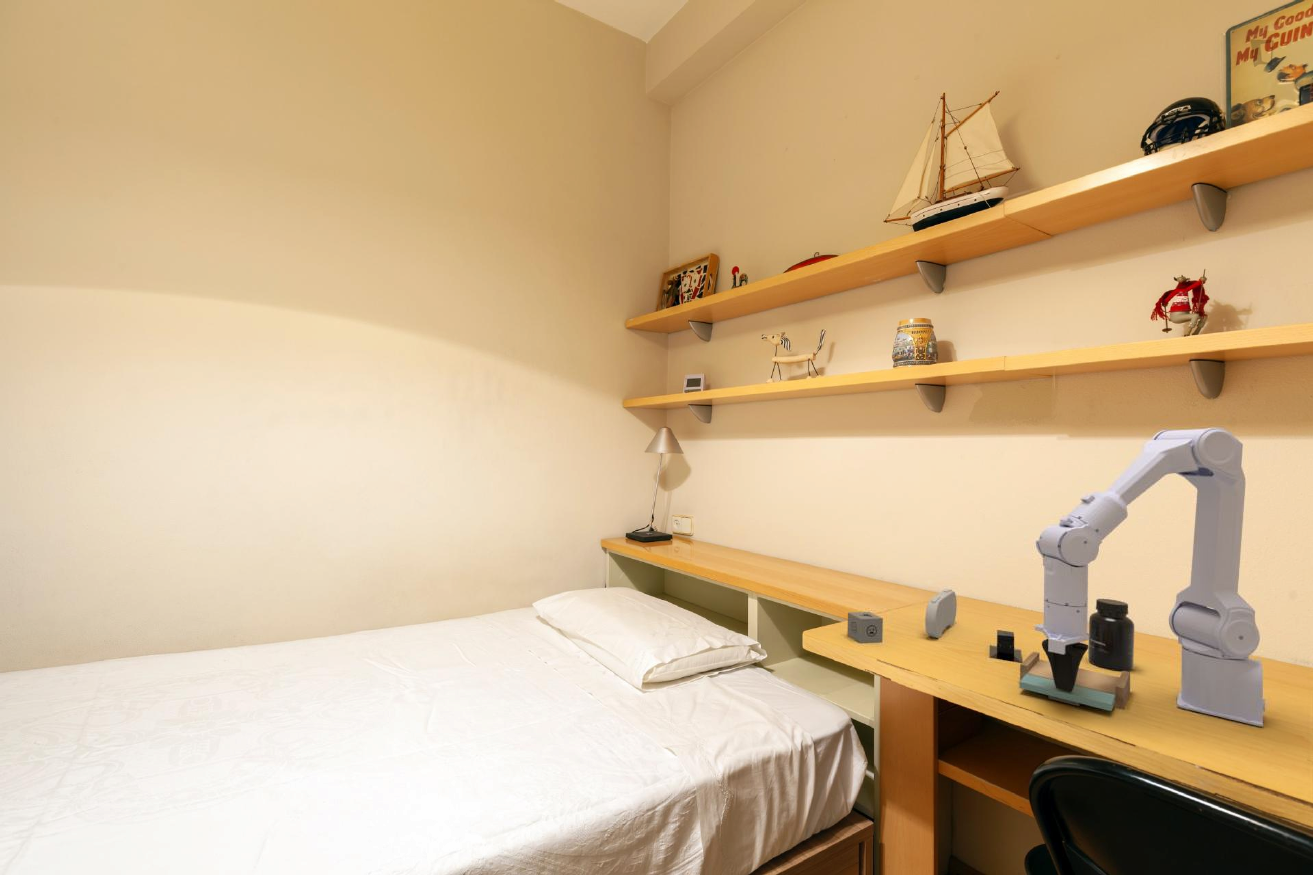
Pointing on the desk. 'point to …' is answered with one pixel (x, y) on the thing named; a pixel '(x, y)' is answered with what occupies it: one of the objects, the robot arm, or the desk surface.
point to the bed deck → (1082, 678)
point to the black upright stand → (1005, 648)
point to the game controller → (940, 613)
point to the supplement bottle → (1111, 636)
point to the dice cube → (865, 627)
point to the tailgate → (1068, 693)
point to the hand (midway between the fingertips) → (1064, 689)
